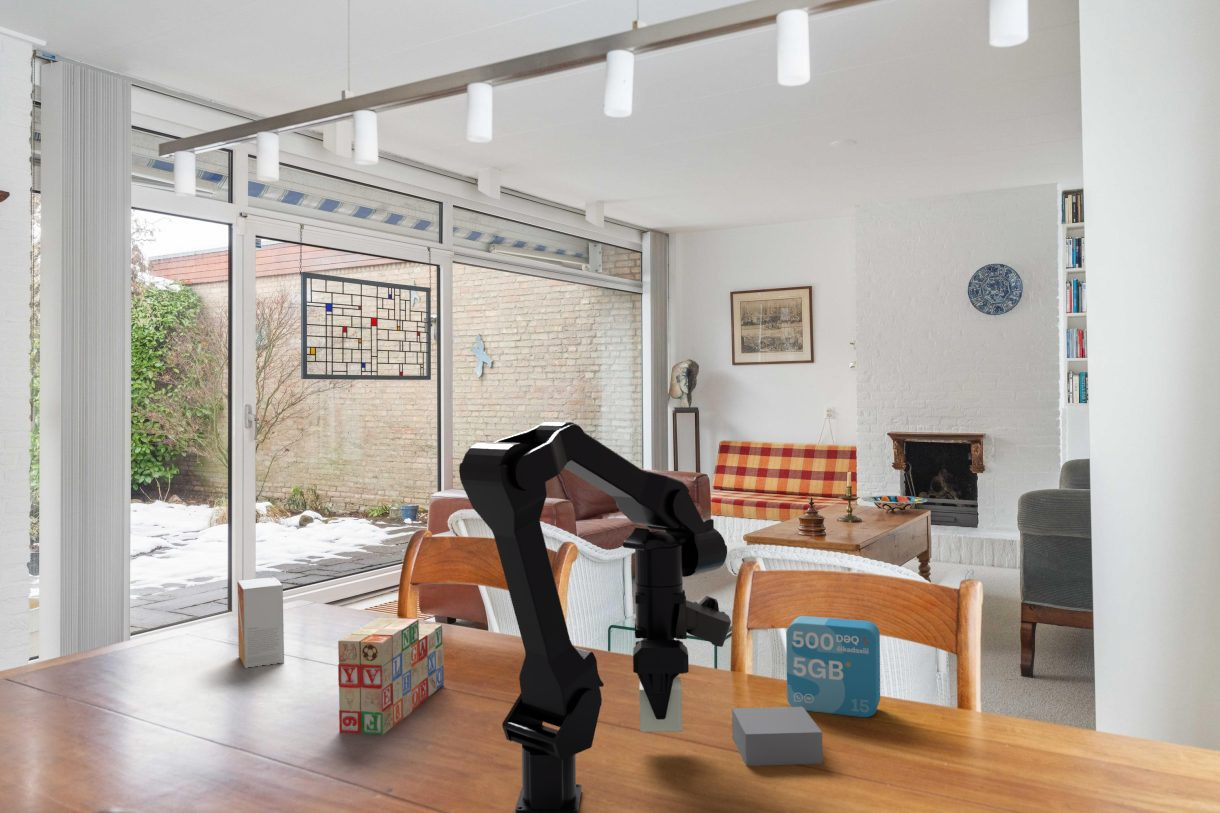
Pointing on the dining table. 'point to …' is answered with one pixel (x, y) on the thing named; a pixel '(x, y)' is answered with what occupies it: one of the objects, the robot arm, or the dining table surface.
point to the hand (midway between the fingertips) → (660, 711)
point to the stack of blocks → (387, 673)
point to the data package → (833, 666)
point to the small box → (260, 622)
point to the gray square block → (776, 736)
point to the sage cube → (672, 717)
